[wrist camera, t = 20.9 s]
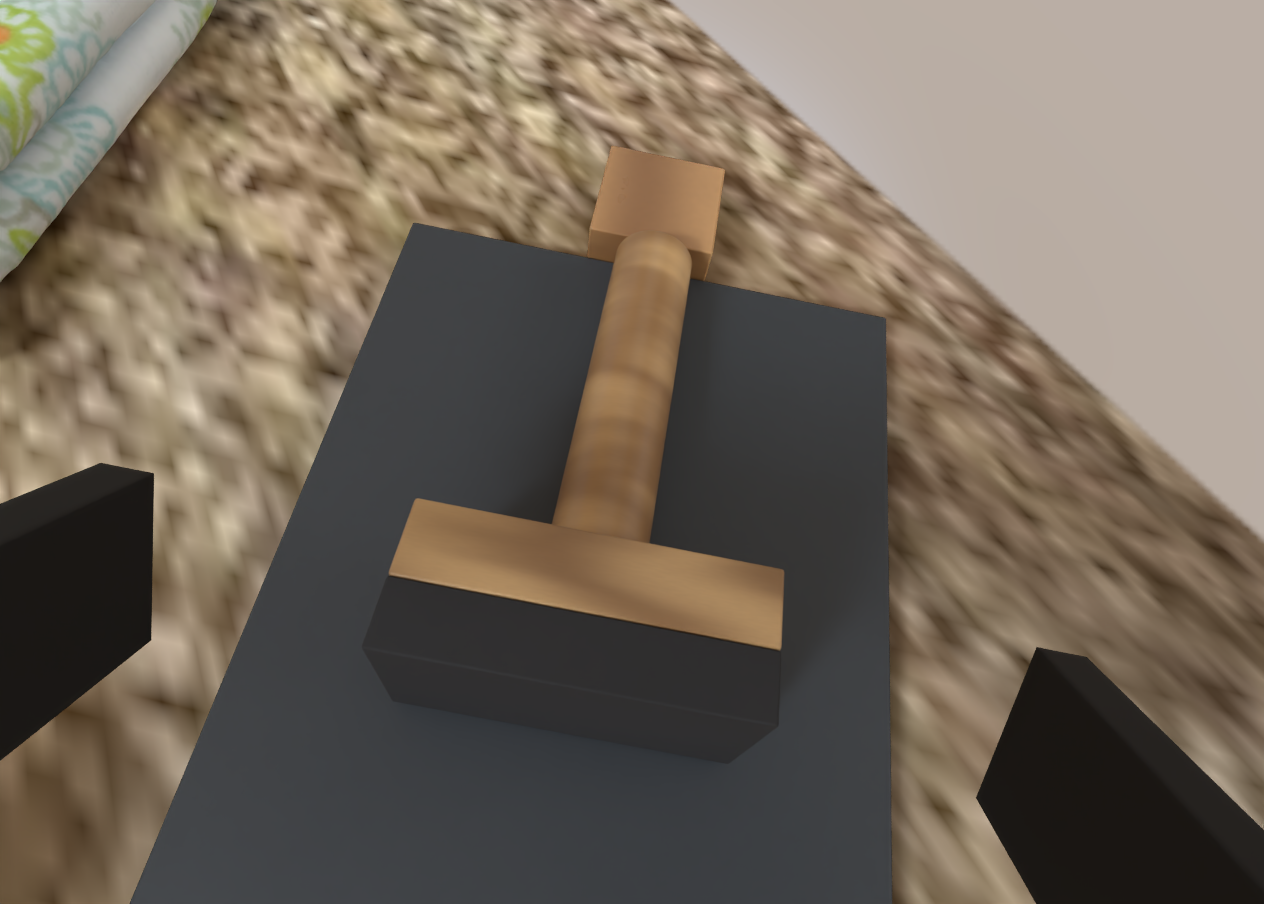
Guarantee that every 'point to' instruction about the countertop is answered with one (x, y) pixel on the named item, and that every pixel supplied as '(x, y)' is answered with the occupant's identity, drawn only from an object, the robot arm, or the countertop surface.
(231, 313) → the countertop surface
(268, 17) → the countertop surface
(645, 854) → the serving tray
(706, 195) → the wooden square block
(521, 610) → the scrub brush
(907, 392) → the countertop surface
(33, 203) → the towel
